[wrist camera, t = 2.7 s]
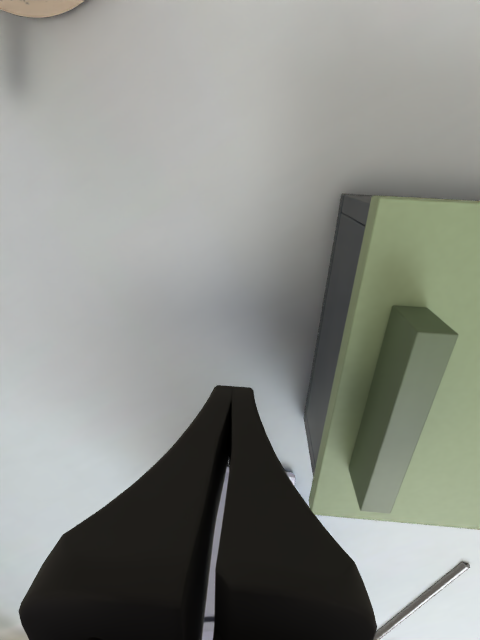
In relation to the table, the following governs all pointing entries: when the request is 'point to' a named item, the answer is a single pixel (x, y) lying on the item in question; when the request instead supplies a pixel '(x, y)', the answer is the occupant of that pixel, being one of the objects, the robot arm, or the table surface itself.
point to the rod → (422, 599)
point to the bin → (334, 314)
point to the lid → (408, 372)
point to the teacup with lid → (38, 7)
